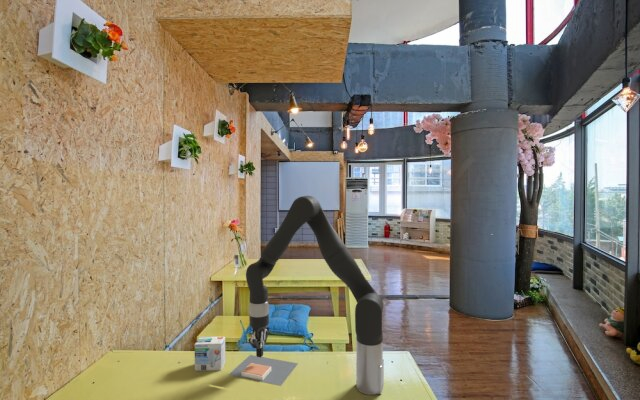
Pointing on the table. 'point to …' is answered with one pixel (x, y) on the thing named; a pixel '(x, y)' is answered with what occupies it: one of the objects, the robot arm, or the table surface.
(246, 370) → the card deck
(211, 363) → the light bulb box
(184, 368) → the table surface
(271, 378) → the mat
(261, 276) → the robot arm
